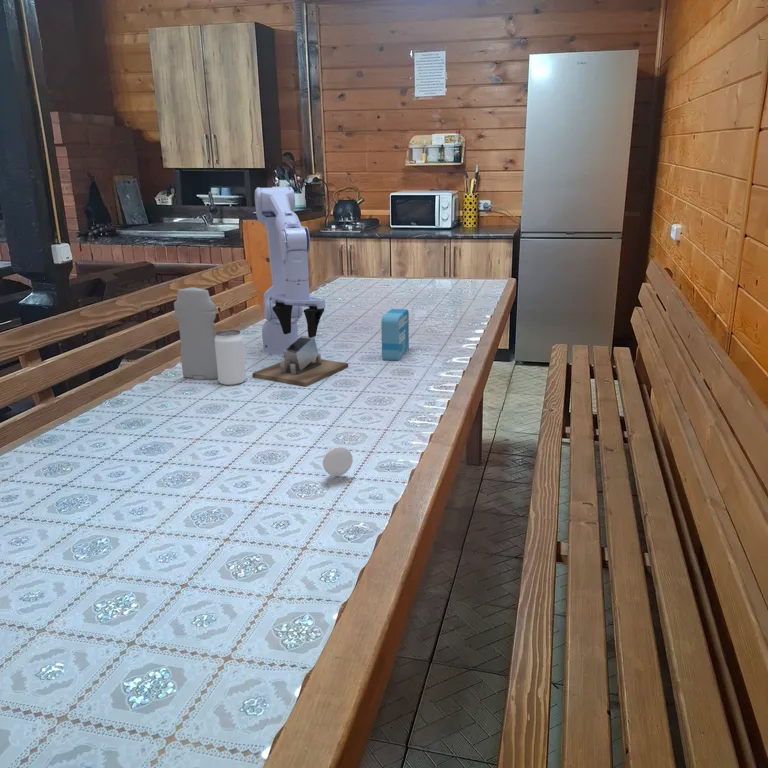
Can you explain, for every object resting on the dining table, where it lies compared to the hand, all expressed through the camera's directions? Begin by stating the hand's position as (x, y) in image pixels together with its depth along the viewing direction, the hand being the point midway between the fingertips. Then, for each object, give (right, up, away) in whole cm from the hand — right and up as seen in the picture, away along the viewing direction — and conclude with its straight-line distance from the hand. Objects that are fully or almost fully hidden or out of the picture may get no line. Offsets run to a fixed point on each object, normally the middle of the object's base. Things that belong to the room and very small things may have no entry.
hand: (299, 335), depth 164 cm
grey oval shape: (+13, -27, -53) cm, 60 cm away
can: (-16, -11, -4) cm, 20 cm away
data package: (+24, -5, +16) cm, 29 cm away
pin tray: (0, -9, +3) cm, 9 cm away
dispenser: (-24, -10, 0) cm, 26 cm away
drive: (0, -6, +3) cm, 7 cm away
